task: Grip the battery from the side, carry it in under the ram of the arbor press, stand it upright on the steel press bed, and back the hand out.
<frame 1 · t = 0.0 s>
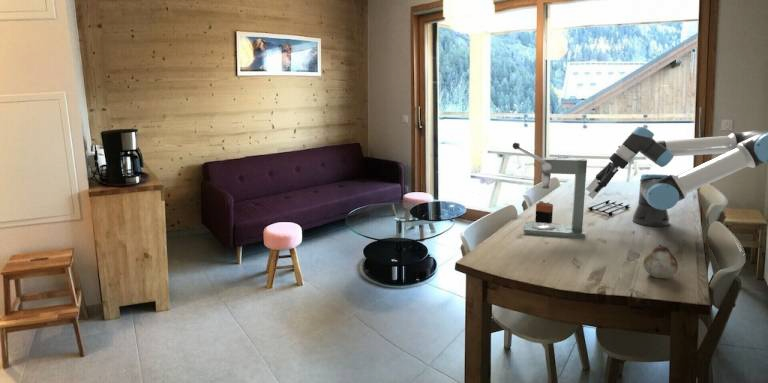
hand: (588, 193, 224), 15 cm above the table, tool tilted 35°, fingers open, 13 cm apart
battery: (543, 222, 234), on the table
fruit: (658, 276, 167), on the table
arbor press: (543, 231, 220), on the table
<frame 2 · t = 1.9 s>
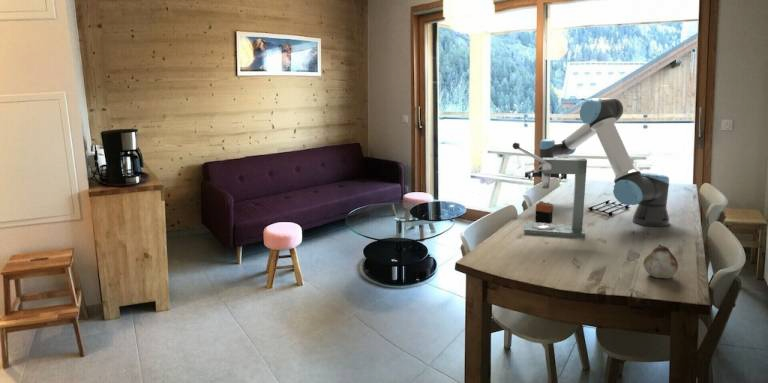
hand: (545, 178, 241), 19 cm above the table, tool horizontal, fingers open, 13 cm apart
nothing on the table moved.
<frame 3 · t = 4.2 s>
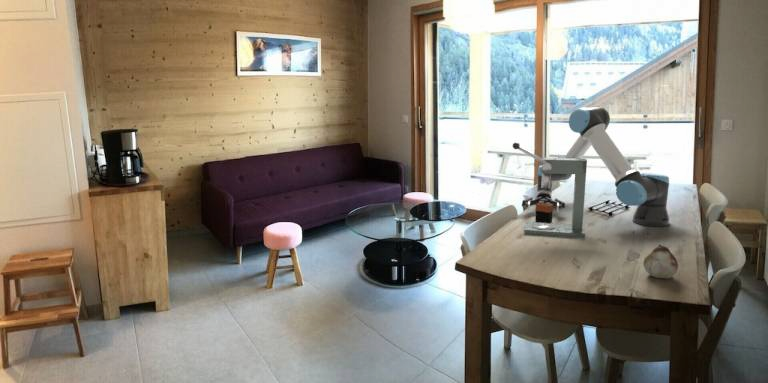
hand: (543, 207, 238), 6 cm above the table, tool horizontal, fingers open, 13 cm apart
nothing on the table moved.
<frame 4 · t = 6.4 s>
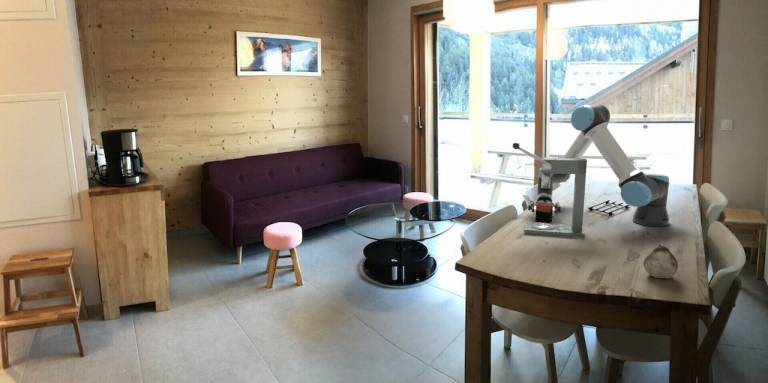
hand: (544, 212, 228), 6 cm above the table, tool horizontal, fingers closed on battery, 8 cm apart
battery: (543, 222, 234), on the table, touching gripper
everything else where it was.
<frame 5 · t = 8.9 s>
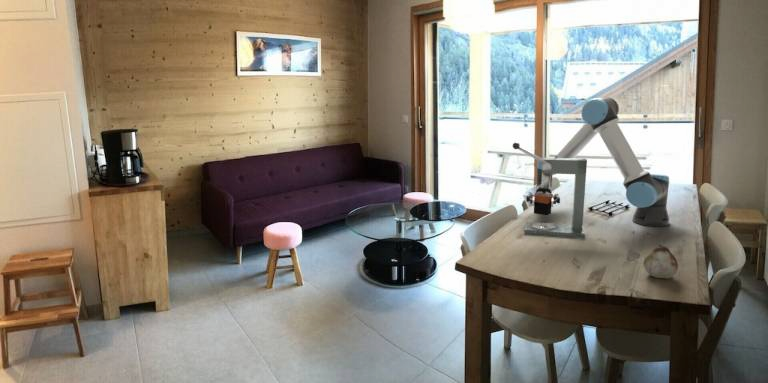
hand: (542, 203, 221), 12 cm above the table, tool horizontal, fingers closed on battery, 8 cm apart
battery: (542, 214, 227), point 6 cm above the table, touching gripper
everything else where it was.
when the fingers open (9 cm above the table, at t = 11.8 s): battery drops 1 cm, resting on arbor press.
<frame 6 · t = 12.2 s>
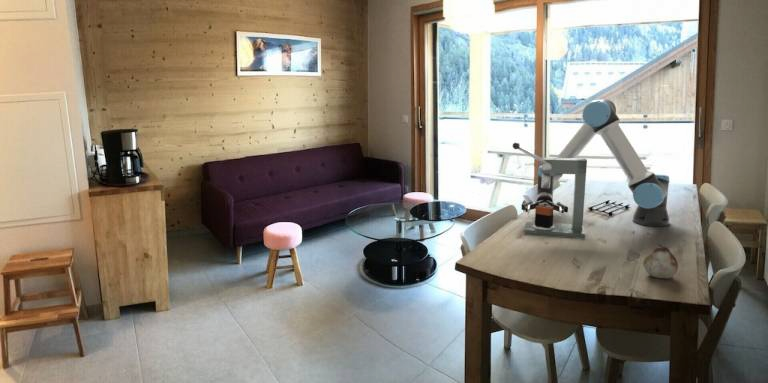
hand: (544, 212, 215), 9 cm above the table, tool horizontal, fingers open, 13 cm apart
battery: (543, 226, 220), point 2 cm above the table, touching arbor press
everything else where it was.
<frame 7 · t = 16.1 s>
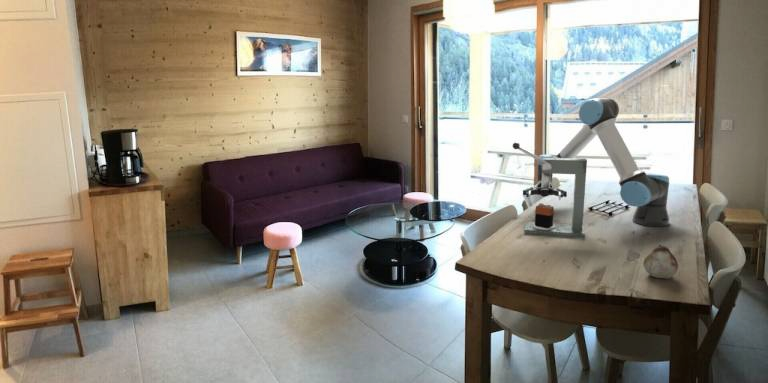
hand: (544, 196, 229), 13 cm above the table, tool horizontal, fingers open, 13 cm apart
nothing on the table moved.
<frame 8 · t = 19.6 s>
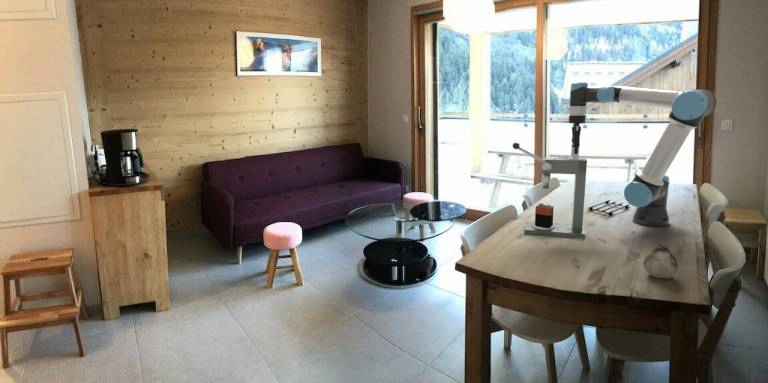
hand: (574, 158, 240), 29 cm above the table, tool pointing down, fingers open, 13 cm apart
nothing on the table moved.
at the end: battery inside the target area on the arbor press (0.0 cm from its centre), point 2.2 cm above the arbor press's base; battery tilted 0°; the gripper is holding nothing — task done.
